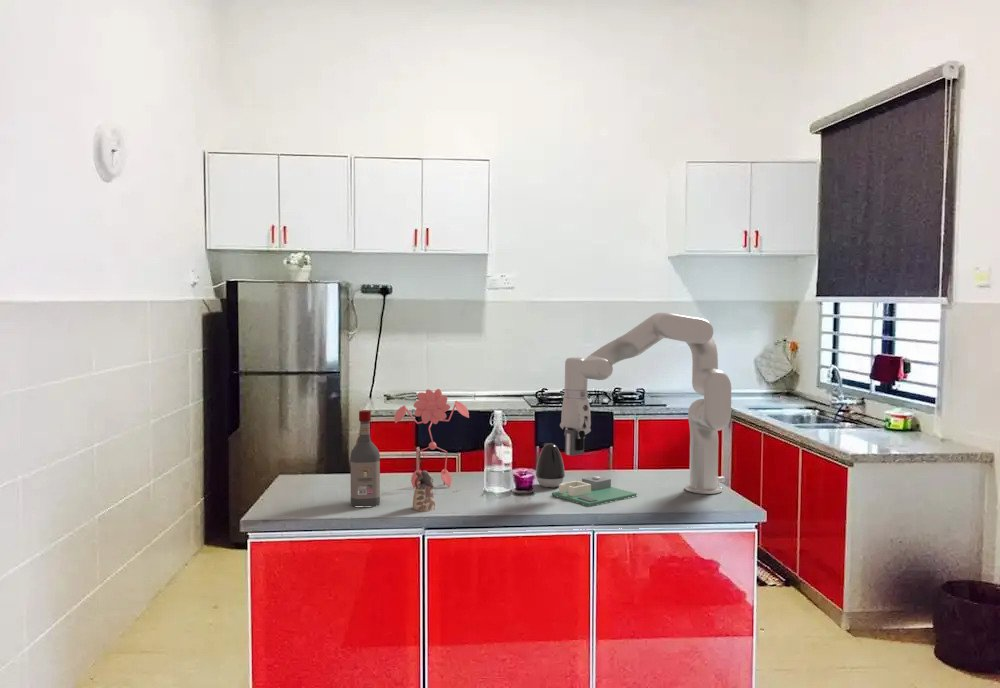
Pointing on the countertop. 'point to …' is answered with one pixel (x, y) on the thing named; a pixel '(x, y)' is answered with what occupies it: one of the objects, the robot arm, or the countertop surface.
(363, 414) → the liquor
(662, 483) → the countertop surface
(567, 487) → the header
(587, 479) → the grey flat block
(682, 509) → the countertop surface
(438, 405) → the figurine
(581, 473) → the countertop surface
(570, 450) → the plug
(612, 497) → the board
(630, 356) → the robot arm
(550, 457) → the dark egg-shaped speaker
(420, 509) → the figurine
